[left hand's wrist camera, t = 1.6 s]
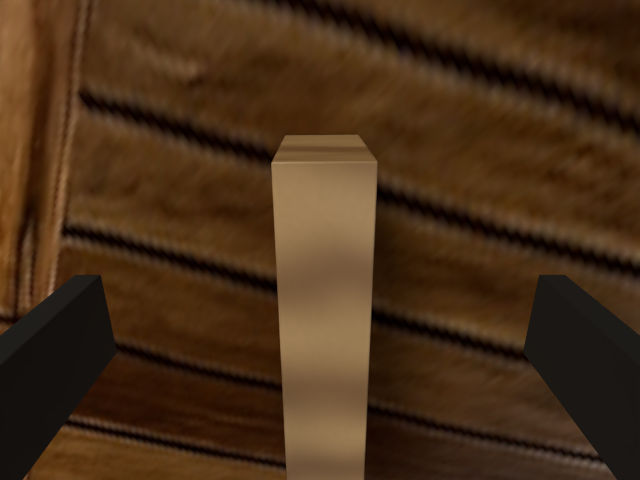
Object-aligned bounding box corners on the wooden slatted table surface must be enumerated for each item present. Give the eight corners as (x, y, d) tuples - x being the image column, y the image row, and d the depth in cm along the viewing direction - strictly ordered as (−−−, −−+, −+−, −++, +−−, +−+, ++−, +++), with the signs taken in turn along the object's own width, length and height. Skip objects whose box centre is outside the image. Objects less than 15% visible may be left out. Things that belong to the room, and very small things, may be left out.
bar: (284, 135, 26) (270, 161, 18) (358, 134, 26) (378, 160, 18) (295, 424, 34) (289, 530, 26) (351, 423, 34) (361, 529, 26)
